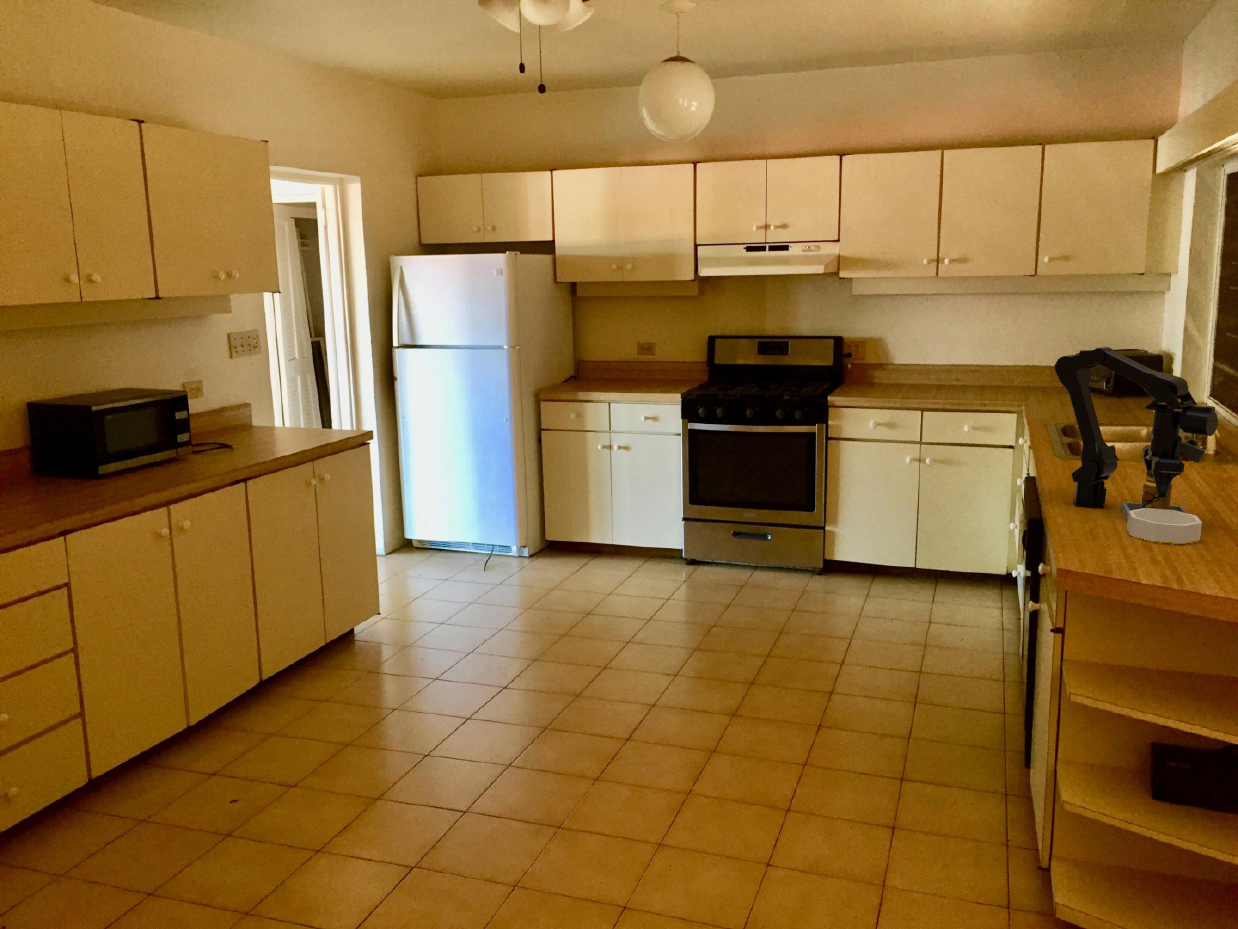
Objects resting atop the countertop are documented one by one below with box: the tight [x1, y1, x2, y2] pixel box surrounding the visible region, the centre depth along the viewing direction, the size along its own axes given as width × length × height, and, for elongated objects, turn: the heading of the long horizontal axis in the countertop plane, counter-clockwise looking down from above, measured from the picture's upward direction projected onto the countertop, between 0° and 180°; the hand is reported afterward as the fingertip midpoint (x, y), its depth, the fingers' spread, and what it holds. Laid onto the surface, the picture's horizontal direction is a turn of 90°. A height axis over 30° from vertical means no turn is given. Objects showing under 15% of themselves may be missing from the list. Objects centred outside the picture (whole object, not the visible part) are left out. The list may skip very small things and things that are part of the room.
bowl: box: [1126, 508, 1203, 543], centre depth 224 cm, size 14×14×4 cm
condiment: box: [1141, 470, 1173, 510], centre depth 237 cm, size 7×8×12 cm
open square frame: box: [1120, 501, 1190, 522], centre depth 238 cm, size 14×14×2 cm
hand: (1158, 493), depth 237 cm, fingers open, 9 cm apart
